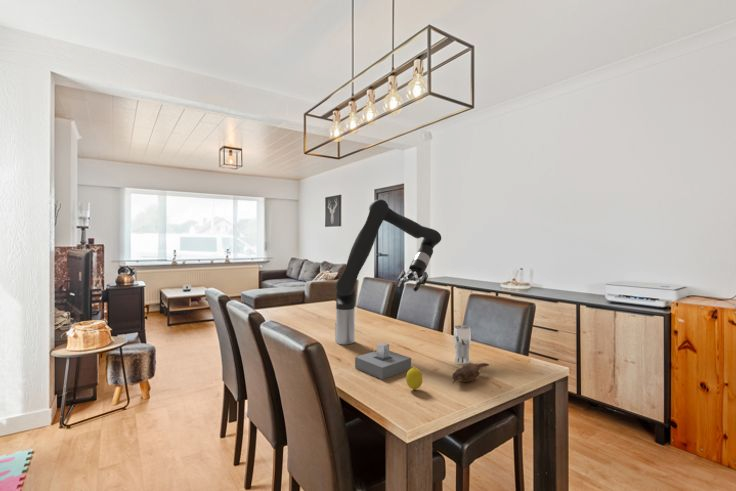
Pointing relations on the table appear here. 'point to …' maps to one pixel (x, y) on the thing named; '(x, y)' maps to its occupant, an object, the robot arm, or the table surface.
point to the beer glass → (462, 344)
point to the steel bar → (383, 351)
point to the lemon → (414, 378)
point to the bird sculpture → (468, 372)
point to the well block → (383, 364)
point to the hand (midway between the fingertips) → (406, 289)
